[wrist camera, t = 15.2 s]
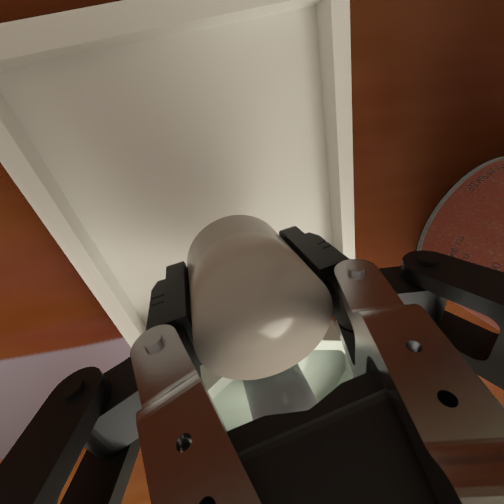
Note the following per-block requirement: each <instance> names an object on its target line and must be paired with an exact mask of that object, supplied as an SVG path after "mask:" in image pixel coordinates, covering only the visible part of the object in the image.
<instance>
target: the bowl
mask: <svg viewBox="0 0 504 504" xmlns="http://www.w3.org/2000/svg"><path fill="white" fill-rule="evenodd" d="M298 365H299V367H300V369H301V371H302V372H303V374H304V376H305V378H306V380H307V382H308V384H309V386H310V388H311V390H312V392H313V394H314V395H315V397H316V399H317V401H318V402H319V401H321V400H322V399H323V398H324V397H325V396H327V395H328V394H329V393H330V392H331V391H333V390H334V389H335V388H336V387H337V386H339V385H340V384H341V383H343V382H345V381H348V380H350V379H352V378H354V377H353V374H352V370H351V367H350V365H349V362H348V359H347V356H346V353H345V350H344V347H343V345H342V342H341V339H340V336H339V333H338V330H337V323H336V322H335V321H334V320H333V319H331V322H330V325H329V328H328V330H327V332H326V334H325V336H324V337H323V339H322V340H321V342H320V343H319V344H318V346H317V347H316V348H315V349H314V350H313V351H312V352H311V353H310V354H309V355H308V356H307V357H305V358H304V359H303V360H301V361H300V362H299V363H298ZM200 370H201V379H202V381H203V383H204V385H205V387H206V389H207V391H208V393H209V395H210V397H211V399H212V401H213V403H214V405H215V407H216V409H217V411H218V413H219V415H220V417H221V419H222V421H223V423H224V425H225V427H226V429H227V431H229V430H232V429H234V428H236V427H239V426H241V425H243V424H246V423H248V422H251V421H253V419H252V415H251V411H250V407H249V404H248V400H247V396H246V392H245V389H244V385H243V381H242V380H233V379H228V378H224V377H221V376H218V375H216V374H214V373H212V372H211V371H209V370H208V369H207V368H206V367H205V366H204V365H201V366H200Z"/></svg>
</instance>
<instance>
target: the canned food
mask: <svg viewBox="0 0 504 504" xmlns="http://www.w3.org/2000/svg"><path fill="white" fill-rule="evenodd" d="M421 250H426V251H434V252H438V253H442V254H445V255H448V256H452V257H455V258H458V259H462V260H465V261H468V262H471V263H475V264H478V265H481V266H485V267H488V268H491V269H495V270H498V271H501V272H504V156H503V157H498V158H495V159H492V160H490V161H487V162H485V163H483V164H481V165H480V166H478V167H476V168H475V169H473V170H472V171H470V172H469V173H468V174H466V175H465V176H464V177H463V178H461V179H460V180H459V181H458V182H457V183H456V184H455V185H454V186H453V187H452V188H451V189H450V190H449V191H448V192H447V193H446V194H445V195H444V197H443V198H442V199H441V200H440V202H439V203H438V204H437V206H436V207H435V209H434V210H433V212H432V213H431V215H430V217H429V218H428V220H427V222H426V224H425V226H424V228H423V231H422V233H421V236H420V239H419V242H418V246H417V250H416V251H421ZM454 303H455V302H454ZM456 304H457V303H456ZM457 305H459V306H461V307H462V308H464V309H466V310H467V311H469V312H470V313H472V314H474V315H475V316H477V317H478V318H480V319H482V320H483V321H485V322H486V323H488V324H490V325H491V326H493V327H494V328H496V329H498V330H499V331H500V328H499V326H498V325H497V323H496V322H495V321H494V320H492V319H491V318H489V317H488V316H486V315H483V314H481V313H478V312H476V311H474V310H471V309H469V308H467V307H464V306H462V305H460V304H457Z"/></svg>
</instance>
